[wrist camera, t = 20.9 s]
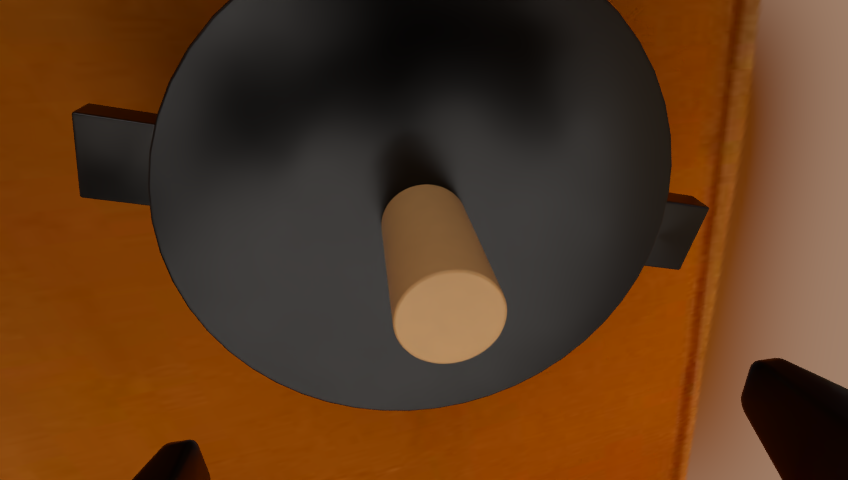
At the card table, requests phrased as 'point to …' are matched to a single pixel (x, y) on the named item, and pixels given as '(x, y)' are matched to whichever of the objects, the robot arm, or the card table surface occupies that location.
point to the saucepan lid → (408, 189)
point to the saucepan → (129, 165)
